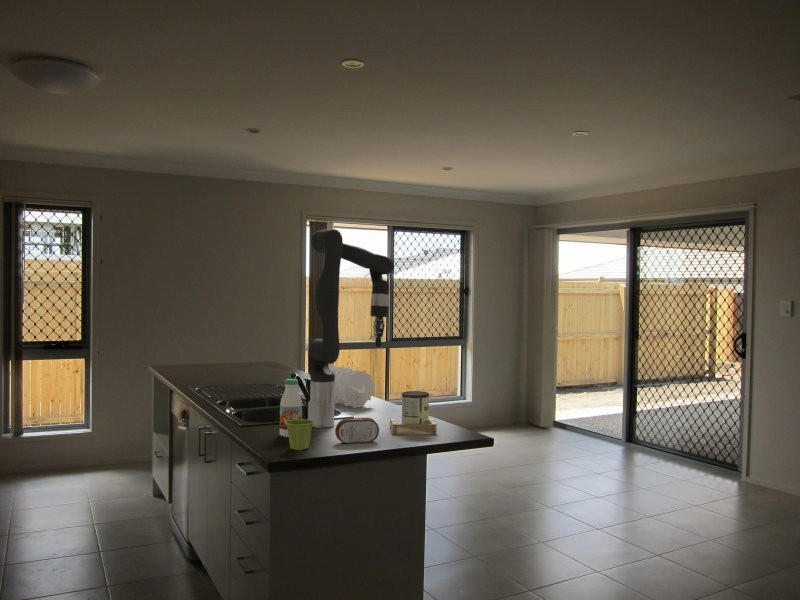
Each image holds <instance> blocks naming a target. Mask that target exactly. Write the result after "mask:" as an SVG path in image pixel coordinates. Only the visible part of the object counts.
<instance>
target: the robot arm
mask: <svg viewBox="0 0 800 600" xmlns="http://www.w3.org/2000/svg"><path fill="white" fill-rule="evenodd" d="M343 240H344V239H343V235H342V234H341V232H340V231H339V230H338V229H336V228H329V229H328V228H327V229H320V230H318V231H317V230H316V231H315V232H314V233H313V234H312V236H311V239H310V244H311V246H312V249H313V250H314V251H315V252H317V253H318V254H322V255H324V264H323V268H322V270H321V272H320V274H319V277H318V279H317V281H316V284H315V286H314V307H315V310H316V313H317V315H318V318H319V320H320V322H321V327H322V338H315V339H313V340H312V341H310V344H309V345H308V346H309V347H308V351H307V352H308V353H307V355H308V356H307V358H308V359H307V360H308V361H307V362H308V363H307V364H308V366H307V367H308V374H309V376H310V388H309V389H310V390H309V391H310V399H309V400H308V402H307V404H308V405H307V420H312V421H314V424H313V427H312V428H317V429H321V428H331V427H335V402H334V396H335V375H334V373H333V372H332V371H330V368H329V366H328V365H330V364H334V363H336V361H337V360H338V359H339V356H340V350H341V349H340V348H341V347H340V336H339V335H340V334H339V302H340V300H339V299H340V272H341V271H340V269H341V262H342V260H344V261H347V262H350V263H351V264H352V263H353V264H355V265H357V266H359V267H361V268H364V269H368V270H369V275H370V279H371V284H372V285H371V286H372V287H371V299H370V311H369V312H370V317H371V318H372V317H374V318H375V319H374V321H373V336H374V338H375V340H374V341H375V342H374V346H375V348H381V346H382V338H383V337H384V331H385V321H384V318H388V317H389V311H390V309H389V308H390V297H389V295H390V293H389V292H390V284H389V283H390V282H389V281H387V280H385V279H383V278H384V277H383V275H389V274H391V273H392V272H394V269H395V263H394V262H393V260H392V259H391V258H390V257H388V256H385V255H382V254H378V253H374V252H372V251H369V250H367V249H365V248H362V247H361V246H360V247H359V246H356V245H353V244H352V245H351V244H348V243H344V242H343Z"/></svg>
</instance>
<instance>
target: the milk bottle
mask: <svg viewBox="0 0 800 600" xmlns="http://www.w3.org/2000/svg"><path fill="white" fill-rule="evenodd" d="M298 385H299V380H298V379H297V378H286V379H284V386H285V389H284V392H283V394H282V397H281V398H280V406H279V436H280V435H281V436H280V437H282V436H284V437H283V438H289V435H288V429H287V425H286V424H285V422H286V421H289V420H297V419H303V401H302V397H301V395H300V393H299V389H298Z"/></svg>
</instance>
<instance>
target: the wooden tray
mask: <svg viewBox="0 0 800 600" xmlns="http://www.w3.org/2000/svg"><path fill="white" fill-rule="evenodd" d="M389 428H390V431H391V433H392V435H437V423H436V422H435V420H434V419H433V417H429V424H402V423H397V421H396V419H395V417H389Z"/></svg>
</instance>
